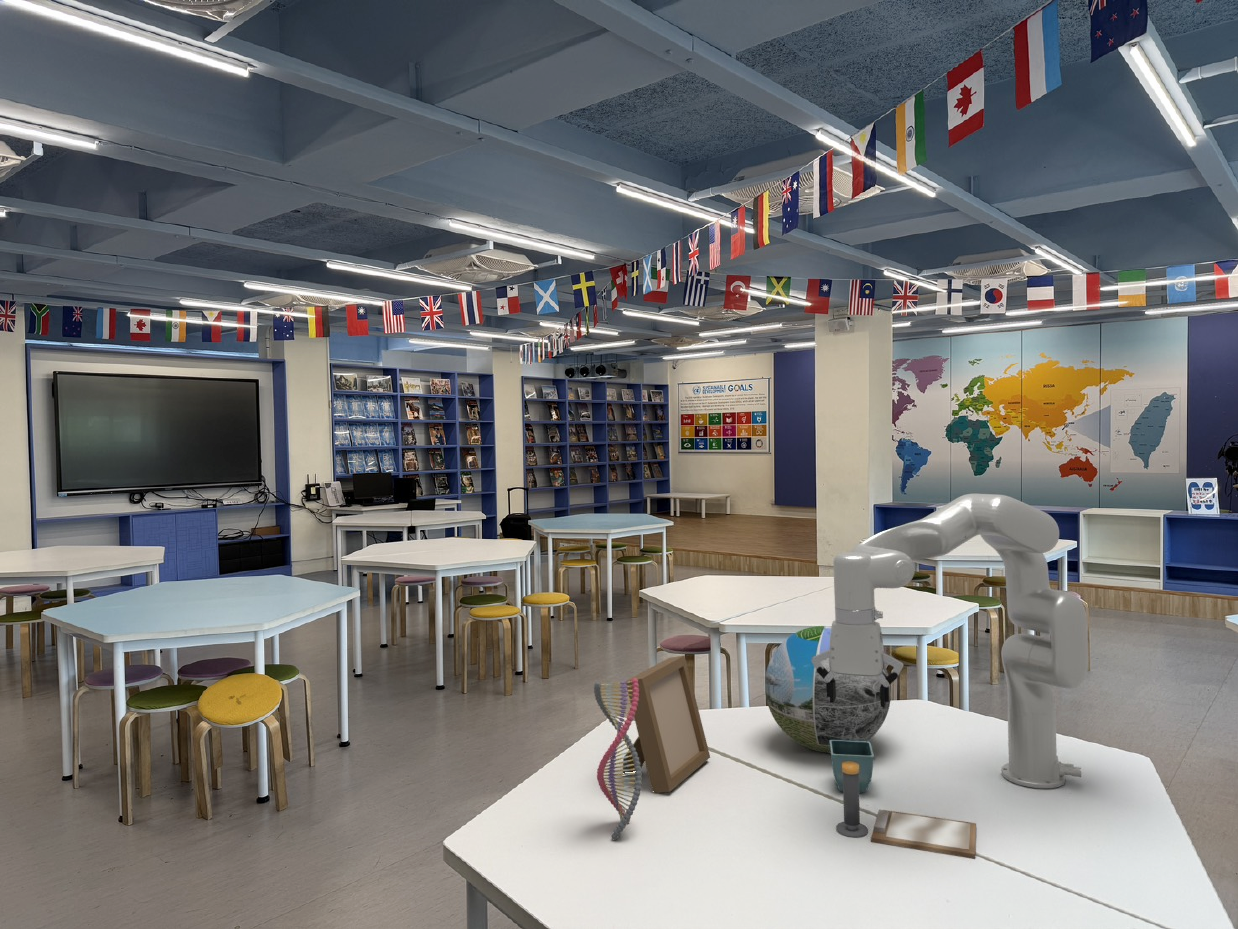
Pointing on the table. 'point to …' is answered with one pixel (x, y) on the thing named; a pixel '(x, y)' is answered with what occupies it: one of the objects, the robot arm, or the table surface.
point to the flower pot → (852, 760)
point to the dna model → (613, 748)
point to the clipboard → (925, 833)
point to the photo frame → (667, 725)
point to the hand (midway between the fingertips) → (857, 703)
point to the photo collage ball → (820, 695)
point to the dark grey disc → (859, 833)
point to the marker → (851, 795)
